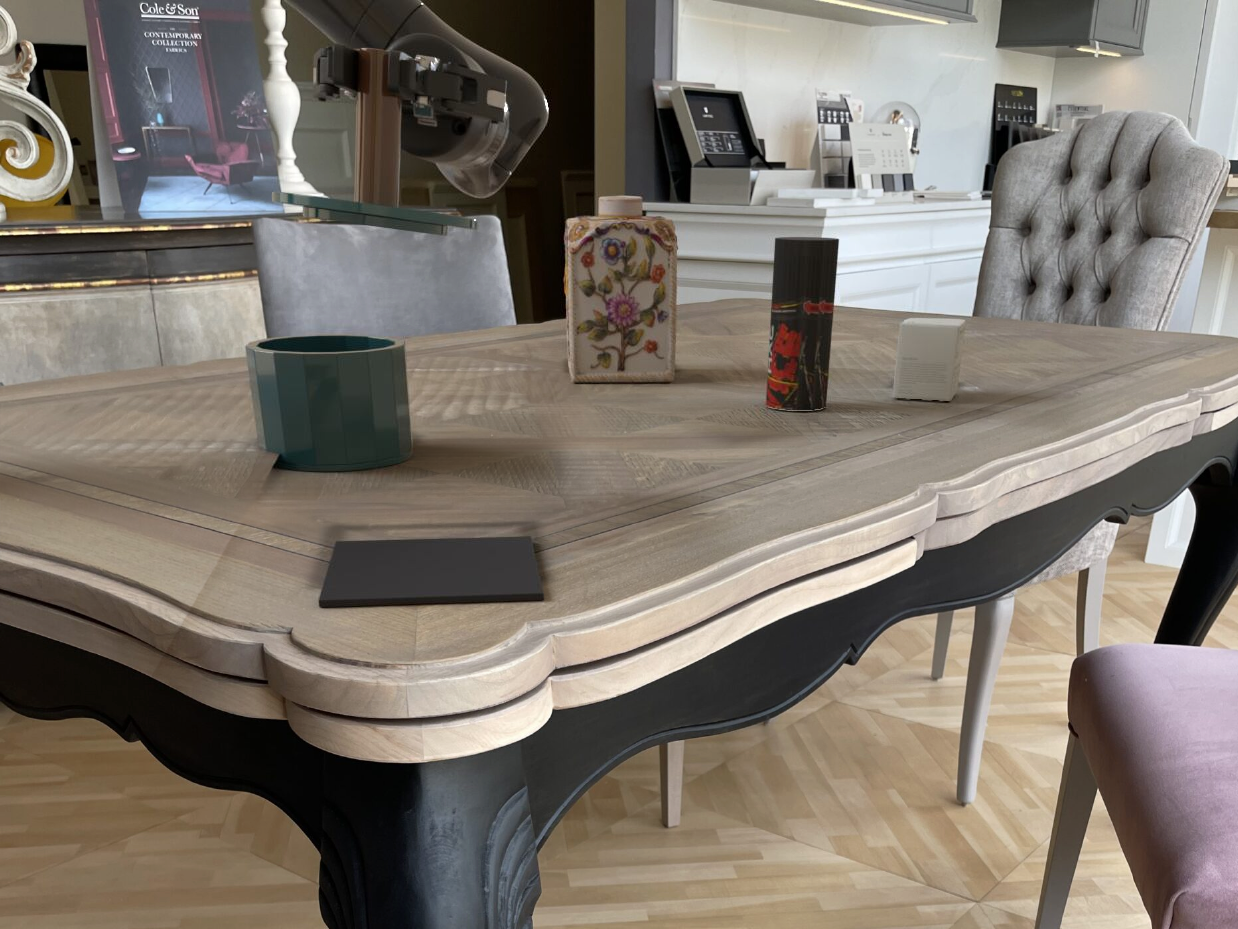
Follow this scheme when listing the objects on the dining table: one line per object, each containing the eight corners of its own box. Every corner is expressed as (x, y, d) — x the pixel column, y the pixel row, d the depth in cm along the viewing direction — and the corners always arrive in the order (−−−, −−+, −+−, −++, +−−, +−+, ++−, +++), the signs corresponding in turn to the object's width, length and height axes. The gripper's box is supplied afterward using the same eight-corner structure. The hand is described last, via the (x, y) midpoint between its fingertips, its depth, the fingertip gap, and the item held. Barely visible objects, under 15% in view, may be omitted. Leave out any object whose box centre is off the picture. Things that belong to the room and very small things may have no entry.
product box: (951, 403, 126) (960, 325, 123) (890, 399, 128) (898, 322, 124) (957, 394, 131) (967, 319, 128) (899, 390, 133) (907, 316, 130)
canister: (251, 473, 95) (235, 354, 91) (271, 442, 105) (257, 335, 101) (411, 470, 96) (402, 353, 92) (414, 440, 107) (406, 333, 103)
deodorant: (837, 409, 122) (851, 240, 115) (784, 413, 120) (795, 240, 113) (806, 400, 127) (817, 236, 120) (754, 404, 125) (763, 237, 118)
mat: (319, 607, 66) (318, 600, 66) (336, 547, 77) (335, 541, 77) (543, 600, 68) (543, 593, 68) (531, 542, 78) (530, 536, 78)
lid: (238, 208, 75) (236, 19, 71) (313, 218, 87) (314, 56, 83) (448, 236, 75) (458, 47, 71) (495, 242, 87) (505, 81, 82)
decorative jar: (666, 368, 146) (669, 195, 138) (676, 383, 136) (681, 198, 127) (564, 368, 145) (561, 194, 137) (567, 384, 135) (564, 197, 127)
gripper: (346, 31, 89) (251, -22, 73) (538, 56, 88) (484, 8, 73) (343, 150, 92) (253, 124, 77) (529, 175, 92) (476, 153, 76)
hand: (366, 67), depth 75 cm, fingers closed on lid, 3 cm apart
